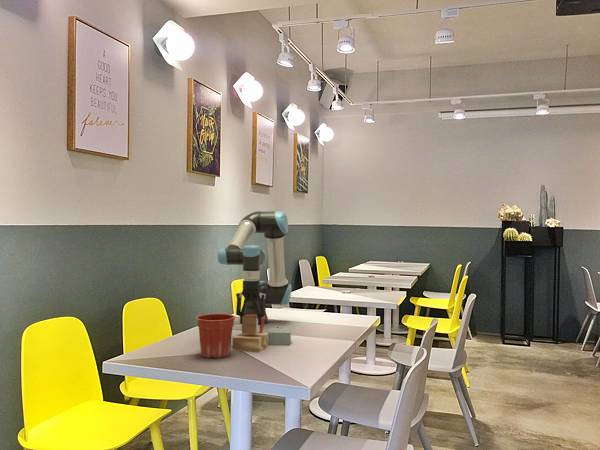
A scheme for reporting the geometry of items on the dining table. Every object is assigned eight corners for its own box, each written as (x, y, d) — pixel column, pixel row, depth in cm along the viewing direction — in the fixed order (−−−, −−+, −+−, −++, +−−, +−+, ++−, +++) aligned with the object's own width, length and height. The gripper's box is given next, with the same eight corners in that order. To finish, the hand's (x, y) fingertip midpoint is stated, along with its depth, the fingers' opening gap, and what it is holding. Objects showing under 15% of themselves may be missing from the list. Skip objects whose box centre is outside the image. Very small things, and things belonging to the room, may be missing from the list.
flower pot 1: (200, 349, 222) (201, 313, 222) (237, 350, 222) (238, 313, 222) (191, 359, 206) (191, 320, 206) (231, 360, 205) (231, 320, 205)
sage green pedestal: (269, 340, 242) (269, 328, 242) (290, 341, 241) (290, 328, 241) (267, 345, 232) (268, 332, 232) (289, 346, 231) (289, 332, 231)
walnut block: (246, 330, 229) (247, 315, 229) (259, 331, 228) (259, 316, 228) (241, 333, 223) (242, 317, 223) (254, 334, 222) (254, 318, 222)
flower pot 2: (261, 338, 245) (261, 318, 245) (240, 337, 248) (240, 317, 248) (267, 333, 256) (267, 314, 256) (246, 332, 258) (246, 313, 258)
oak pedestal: (243, 344, 233) (243, 331, 233) (267, 346, 230) (267, 333, 230) (232, 351, 221) (232, 337, 221) (258, 353, 218) (258, 339, 218)
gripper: (228, 280, 225) (227, 332, 224) (268, 281, 219) (267, 334, 219) (234, 278, 232) (234, 328, 232) (273, 279, 227) (273, 331, 227)
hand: (250, 331), depth 226 cm, fingers closed on walnut block, 6 cm apart
